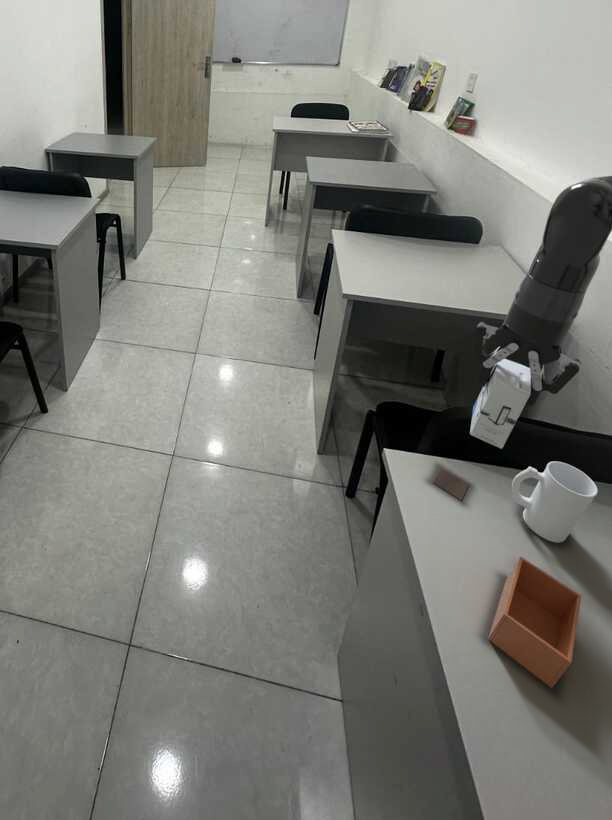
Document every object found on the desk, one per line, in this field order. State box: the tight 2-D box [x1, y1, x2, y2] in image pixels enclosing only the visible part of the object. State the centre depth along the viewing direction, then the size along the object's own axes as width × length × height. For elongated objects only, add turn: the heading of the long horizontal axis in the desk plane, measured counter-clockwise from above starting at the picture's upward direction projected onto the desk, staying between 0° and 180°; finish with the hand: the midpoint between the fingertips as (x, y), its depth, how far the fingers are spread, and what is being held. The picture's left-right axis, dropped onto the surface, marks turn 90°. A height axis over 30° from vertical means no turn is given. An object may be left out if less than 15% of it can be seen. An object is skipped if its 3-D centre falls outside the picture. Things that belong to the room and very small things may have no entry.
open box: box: [487, 555, 582, 689], centre depth 68 cm, size 7×11×6 cm, turn 135°
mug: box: [511, 460, 599, 543], centre depth 83 cm, size 10×7×12 cm, turn 60°
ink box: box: [469, 358, 532, 449], centre depth 79 cm, size 9×5×12 cm, turn 145°
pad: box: [432, 467, 470, 502], centre depth 91 cm, size 5×5×1 cm
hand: (503, 393), depth 79 cm, fingers closed on ink box, 5 cm apart
